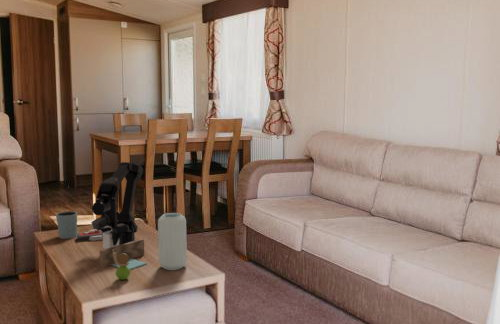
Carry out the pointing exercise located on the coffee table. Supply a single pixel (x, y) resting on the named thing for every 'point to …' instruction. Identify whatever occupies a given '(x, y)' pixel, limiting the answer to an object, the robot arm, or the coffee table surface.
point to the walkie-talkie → (90, 235)
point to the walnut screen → (130, 249)
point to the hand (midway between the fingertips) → (111, 244)
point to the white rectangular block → (108, 240)
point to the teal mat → (132, 264)
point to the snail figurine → (122, 265)
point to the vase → (172, 241)
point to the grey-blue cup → (67, 224)
